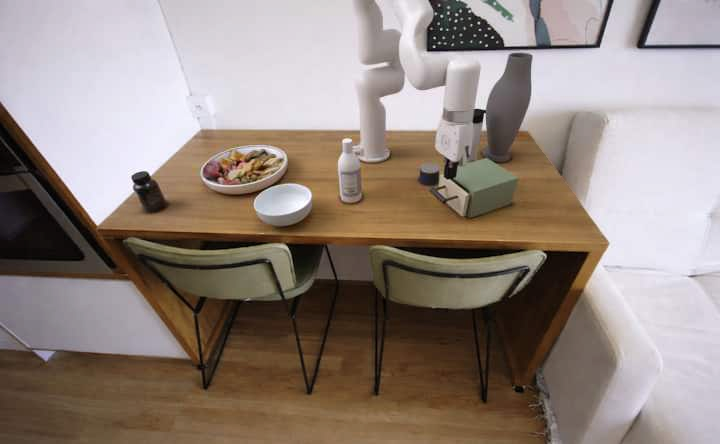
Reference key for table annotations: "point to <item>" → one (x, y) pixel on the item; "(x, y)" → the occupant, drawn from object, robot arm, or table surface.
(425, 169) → the tin
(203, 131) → the table surface
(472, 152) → the travel mug
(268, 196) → the cereal bowl
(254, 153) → the bowl
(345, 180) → the bath foam
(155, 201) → the supplement bottle
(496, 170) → the cabinet
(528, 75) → the vase
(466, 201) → the drawer
